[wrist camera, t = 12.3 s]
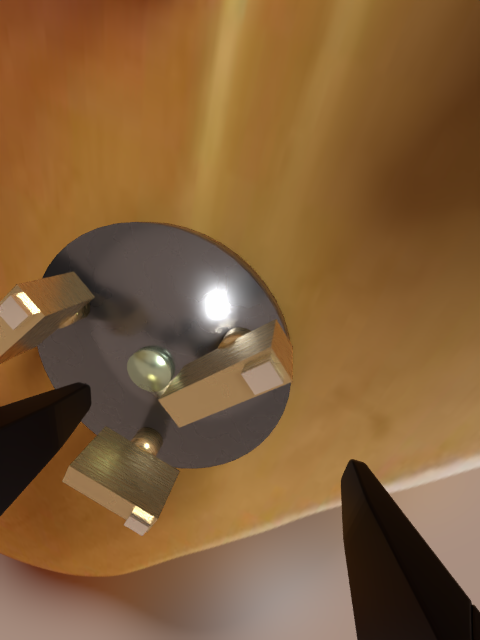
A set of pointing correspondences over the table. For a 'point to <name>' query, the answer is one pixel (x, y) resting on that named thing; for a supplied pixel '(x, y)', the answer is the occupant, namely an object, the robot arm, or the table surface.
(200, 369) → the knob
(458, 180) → the table surface
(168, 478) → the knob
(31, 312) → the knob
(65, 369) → the plate
